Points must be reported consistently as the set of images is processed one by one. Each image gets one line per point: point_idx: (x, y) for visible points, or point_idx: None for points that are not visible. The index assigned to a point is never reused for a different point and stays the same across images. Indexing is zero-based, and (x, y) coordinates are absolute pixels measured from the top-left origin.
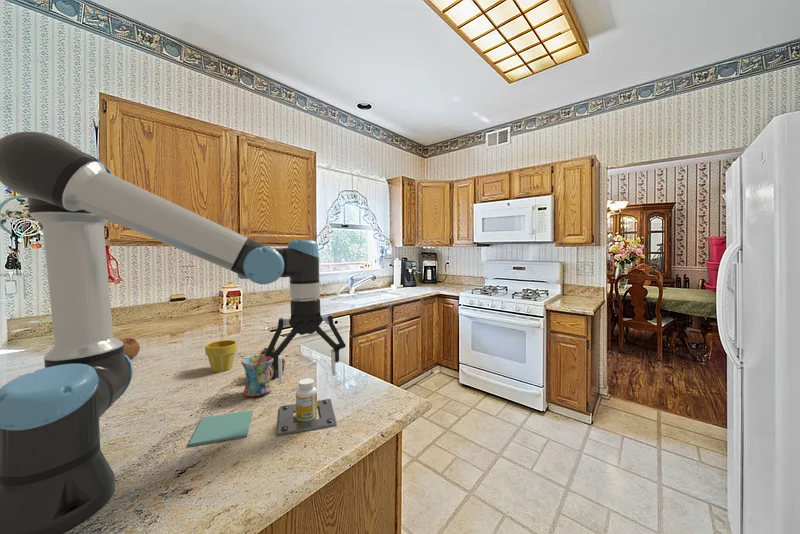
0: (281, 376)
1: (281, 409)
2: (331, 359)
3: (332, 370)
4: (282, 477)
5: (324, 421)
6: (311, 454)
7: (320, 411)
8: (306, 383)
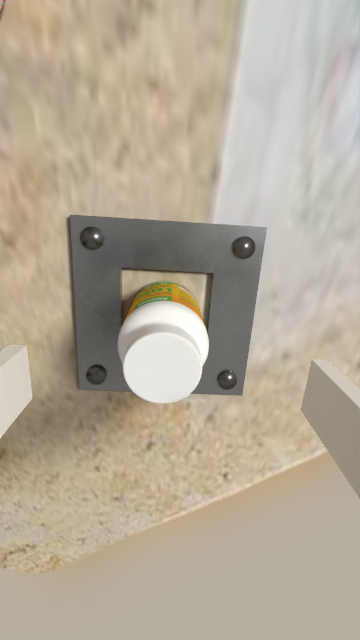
0: (11, 420)
1: (77, 245)
2: (357, 425)
3: (314, 423)
4: (102, 515)
5: (211, 376)
6: (160, 475)
7: (211, 313)
8: (160, 397)
